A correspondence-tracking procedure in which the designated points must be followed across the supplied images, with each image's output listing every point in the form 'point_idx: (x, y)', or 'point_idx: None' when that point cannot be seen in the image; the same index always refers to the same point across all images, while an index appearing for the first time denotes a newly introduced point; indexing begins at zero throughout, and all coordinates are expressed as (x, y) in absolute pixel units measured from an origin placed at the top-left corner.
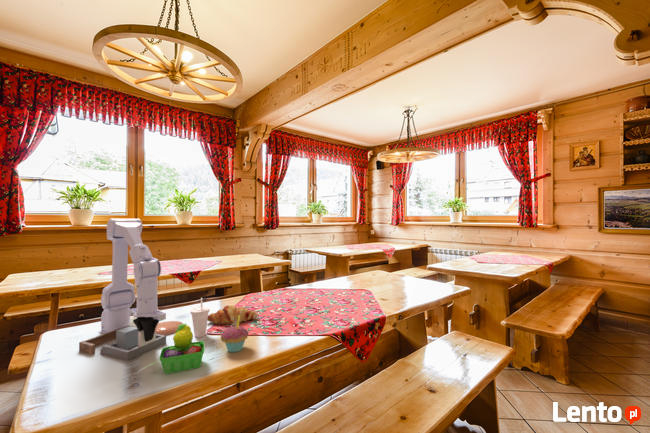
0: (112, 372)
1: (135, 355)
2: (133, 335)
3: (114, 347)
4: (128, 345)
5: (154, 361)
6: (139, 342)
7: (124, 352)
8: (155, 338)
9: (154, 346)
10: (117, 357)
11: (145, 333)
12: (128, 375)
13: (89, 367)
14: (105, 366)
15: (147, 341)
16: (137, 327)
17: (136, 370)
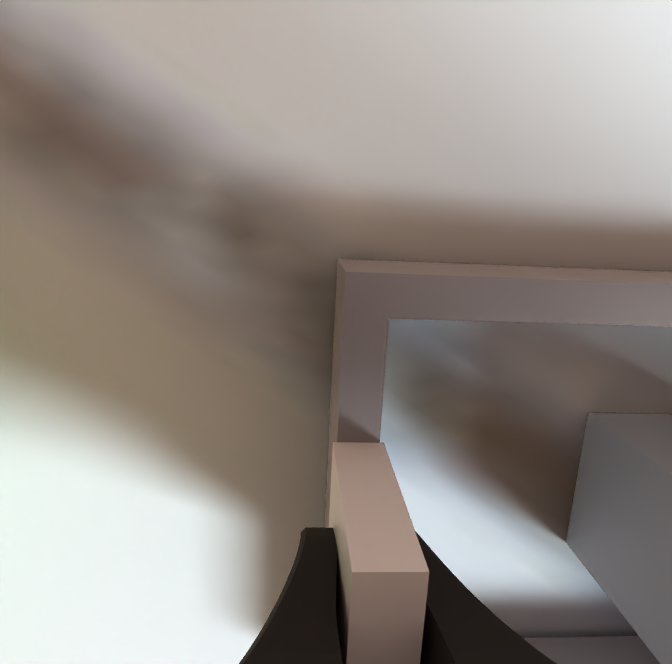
0: (258, 24)
1: (334, 353)
2: (660, 586)
3: (655, 314)
4: (609, 469)
5: (57, 363)
6: (365, 469)
7: (407, 273)
8: None
9: None
10: (509, 265)
11: (298, 600)
12: (9, 35)
13: (627, 20)
14: (472, 99)
15: None
16: (528, 657)
17: (40, 151)
